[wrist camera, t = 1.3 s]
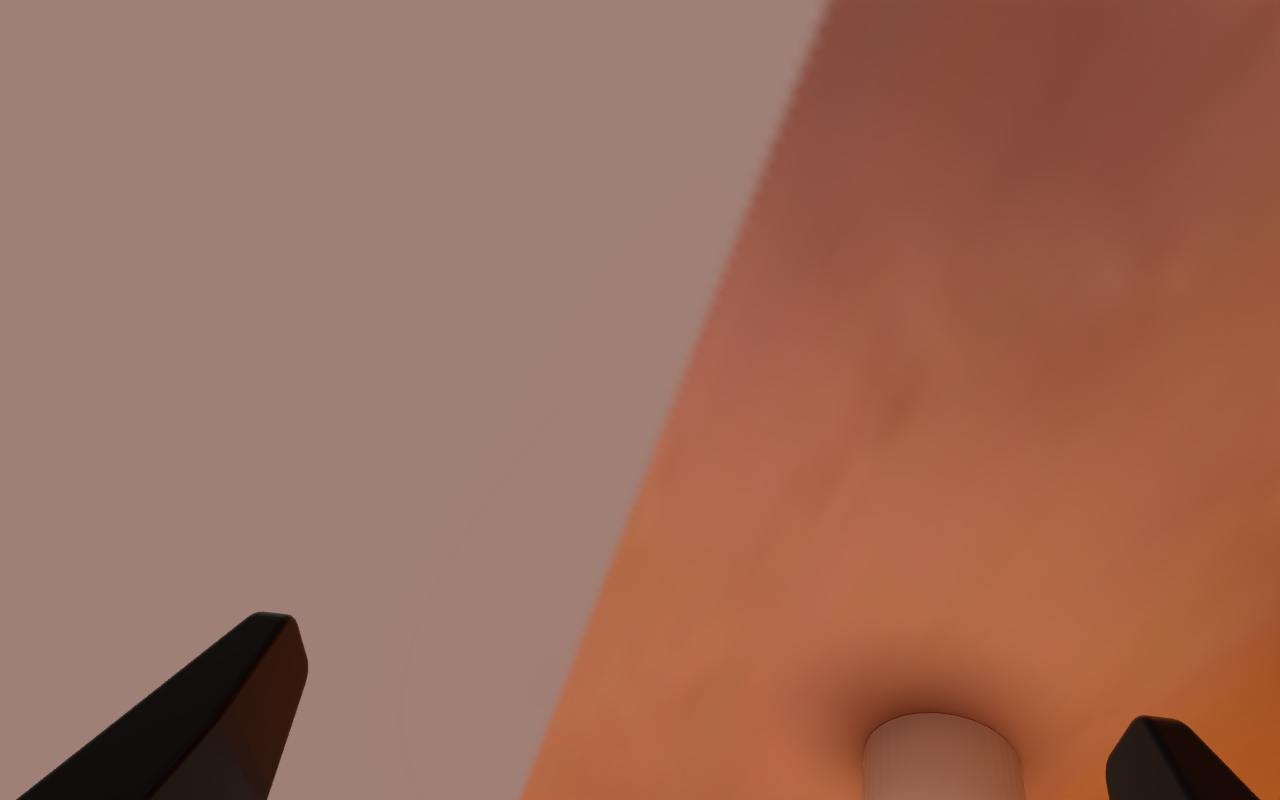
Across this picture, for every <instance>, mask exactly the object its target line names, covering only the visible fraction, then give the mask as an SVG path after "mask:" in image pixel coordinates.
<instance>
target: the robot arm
mask: <svg viewBox="0 0 1280 800" xmlns="http://www.w3.org/2000/svg"><path fill="white" fill-rule="evenodd" d="M307 674H308V660H307V656H306V652H305V649H304V645H303V642H302V639H301V635H300V631H299V628H298V624H297V622H296V620H295V619H294V618H293V617H292V616H291V615H287V614H279V613H271V612H257V613H254V614H252V615H250V616H249V617H247V618H246V619H245V620H243V621H242V622H241V623H240V624H238V625H237V626H236V627H234V628H233V629H232V630H231V631H229V632H228V633H227V634H226V635H224V636H223V637H222V638H220V639H219V640H218V641H217V642H215V643H214V644H213V645H212V646H210V647H209V648H208V649H207V650H205V651H204V652H203V653H201V654H200V655H199V656H198V657H196V658H195V659H194V660H193V661H191V662H190V663H189V664H188V665H186V666H185V667H184V668H182V669H181V670H180V671H179V672H177V673H176V674H175V675H174V676H172V677H171V678H170V679H168V680H167V681H166V682H165V683H163V684H162V685H161V686H160V687H158V688H157V689H156V690H155V691H153V692H152V693H151V694H149V695H148V696H147V697H146V698H144V699H143V700H142V701H141V702H139V703H138V704H137V705H136V706H134V707H133V708H132V709H131V710H129V711H128V712H127V713H125V714H124V715H123V716H122V717H120V718H119V719H118V720H117V721H115V722H114V723H113V724H111V725H110V726H109V727H108V728H106V729H105V730H104V731H103V732H101V733H100V734H99V735H98V736H96V737H95V738H94V739H93V740H91V741H90V742H89V743H87V744H86V745H85V746H84V747H82V748H81V749H80V750H78V751H77V752H76V753H75V754H73V755H72V756H71V757H70V758H68V759H67V760H66V761H65V762H63V763H62V764H61V765H59V766H58V767H57V768H56V769H54V770H53V771H52V772H51V773H49V774H48V775H47V776H46V777H44V778H43V779H42V780H40V781H39V782H38V783H37V784H35V785H34V786H33V787H32V788H30V789H29V790H28V791H27V792H25V793H24V794H23V795H21V796H20V797H19V798H18V799H17V800H267V798H268V795H269V792H270V789H271V786H272V783H273V780H274V777H275V774H276V771H277V768H278V765H279V762H280V759H281V756H282V753H283V750H284V747H285V744H286V741H287V738H288V735H289V732H290V729H291V726H292V723H293V719H294V717H295V714H296V711H297V708H298V705H299V701H300V699H301V696H302V692H303V689H304V686H305V683H306V679H307ZM1106 783H1107V789H1108V794H1109V800H1260V799H1259V798H1258V797H1257V796H1256V795H1255V794H1254V793H1253V792H1252V791H1251V790H1250V789H1249V788H1248V787H1247V786H1246V785H1245V784H1244V783H1243V782H1242V781H1241V780H1240V779H1239V778H1238V777H1237V776H1236V775H1235V774H1234V773H1233V772H1232V770H1231V769H1230V768H1229V767H1228V766H1227V765H1226V764H1225V763H1224V762H1223V761H1222V760H1221V759H1220V758H1219V757H1218V756H1217V755H1216V754H1215V753H1214V752H1213V751H1212V750H1211V749H1210V748H1209V747H1208V746H1207V745H1206V744H1205V743H1204V742H1203V741H1202V740H1201V739H1200V738H1199V737H1198V736H1197V735H1196V734H1195V733H1194V732H1193V731H1192V730H1191V729H1190V728H1189V727H1188V726H1187V725H1185V724H1184V723H1183V722H1181V721H1179V720H1175V719H1171V718H1163V717H1154V716H1145V715H1143V716H1139V717H1137V718H1135V719H1134V720H1133V721H1132V722H1131V724H1130V725H1129V727H1128V728H1127V730H1126V731H1125V733H1124V734H1123V736H1122V737H1121V739H1120V740H1119V742H1118V743H1117V745H1116V746H1115V748H1114V749H1113V751H1112V752H1111V754H1110V755H1109V757H1108V760H1107V764H1106Z"/></svg>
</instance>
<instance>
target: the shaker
mask: <svg viewBox="0 0 1280 800" xmlns="http://www.w3.org/2000/svg"><path fill="white" fill-rule="evenodd" d="M862 800H1026V797H1025V790H1024V782H1023V774H1022V767H1021V763H1020V759H1019V757H1018V755H1017V753H1016V751H1015V750H1014V748H1013V747H1012V746H1011V745H1010V744H1009V743H1008V741H1007V740H1006V739H1004V738H1003V737H1002V736H1001V735H999V734H998V733H997V732H995V731H993V730H992V729H990V728H988V727H986V726H984V725H982V724H980V723H978V722H975V721H973V720H970V719H967V718H963V717H960V716H955V715H950V714H941V713H917V714H910V715H905V716H901V717H898V718H895V719H892V720H890V721H888V722H886V723H884V724H882V725H881V726H880V727H878V728H877V729H876V730H875V731H874V732H873V733H872V734H871V735H870V736H869V738H868V739H867V742H866V744H865V747H864V756H863V778H862Z"/></svg>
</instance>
